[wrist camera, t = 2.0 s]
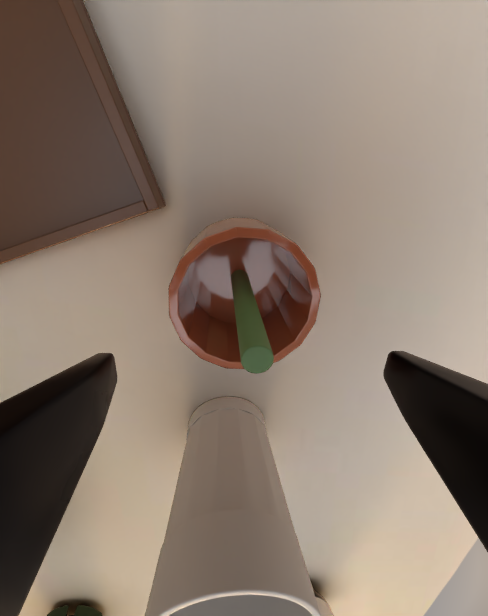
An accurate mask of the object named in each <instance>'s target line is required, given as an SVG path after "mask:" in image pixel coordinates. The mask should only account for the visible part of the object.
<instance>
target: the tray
mask: <svg viewBox="0 0 488 616" xmlns="http://www.w3.org/2000/svg"><path fill="white" fill-rule="evenodd" d="M165 206H166V204H165V202H164V199H163V197H162V194H161V192H160V189H159V187H158V184H157V182H156V179H155V177H154V175H153V172H152V170H151V167H150V165H149V162H148V160H147V157H146V155H145V152H144V150H143V148H142V145H141V143H140V140H139V138H138V135H137V133H136V130H135V128H134V125H133V123H132V121H131V118H130V116H129V113H128V111H127V108H126V106H125V103H124V101H123V98H122V96H121V94H120V91H119V89H118V86H117V84H116V81H115V79H114V76H113V74H112V71H111V69H110V67H109V64H108V62H107V59H106V57H105V54H104V52H103V49H102V47H101V44H100V42H99V40H98V37H97V35H96V32H95V30H94V27H93V25H92V22H91V20H90V17H89V15H88V13H87V10H86V8H85V5H84V3H83V0H0V264H2V263H5V262H8V261H11V260H14V259H17V258H19V257H22V256H25V255H28V254H31V253H34V252H36V251H39V250H42V249H45V248H48V247H51V246H54V245H56V244H59V243H62V242H65V241H68V240H71V239H74V238H76V237H79V236H82V235H85V234H88V233H91V232H93V231H96V230H99V229H102V228H105V227H108V226H111V225H113V224H116V223H119V222H122V221H125V220H128V219H131V218H133V217H136V216H139V215H142V214H145V213H148V212H151V211H153V210H156V209H159V208H162V207H165Z"/></svg>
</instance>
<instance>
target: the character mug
mask: <svg viewBox="0 0 488 616" xmlns="http://www.w3.org/2000/svg"><path fill="white" fill-rule="evenodd" d="M68 607H69V606H63V607H59V608H56V609H54V610H53V611H51V612H50V613H49V614H48V615H47V616H67V610H68ZM71 616H102V613H101V612H99V611H98V610H96V609H94V608H92V607H87V606H83V605H78V606H77V608H76V611H75V614H74V615H71Z"/></svg>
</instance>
